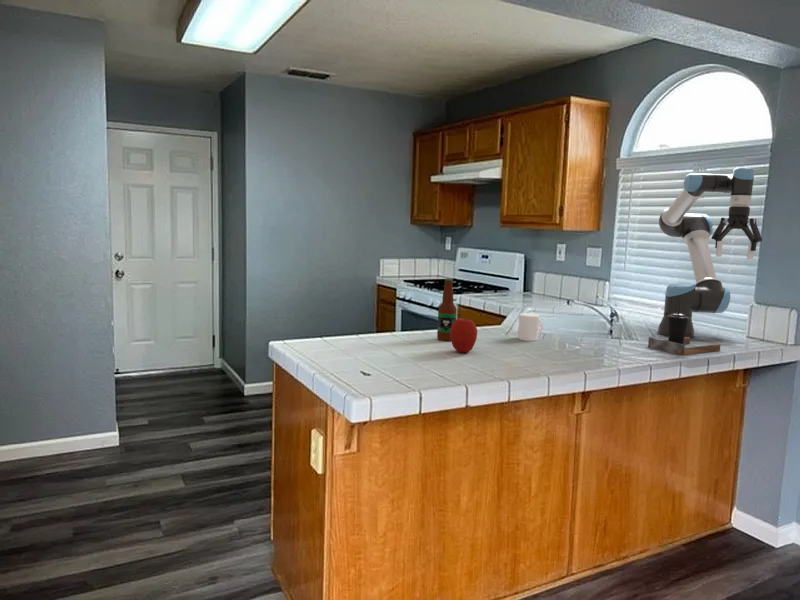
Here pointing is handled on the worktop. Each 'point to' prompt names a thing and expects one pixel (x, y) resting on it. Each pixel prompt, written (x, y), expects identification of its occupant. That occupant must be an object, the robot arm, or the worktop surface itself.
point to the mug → (529, 327)
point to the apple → (463, 334)
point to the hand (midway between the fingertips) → (733, 257)
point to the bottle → (446, 312)
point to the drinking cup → (677, 326)
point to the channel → (680, 346)
